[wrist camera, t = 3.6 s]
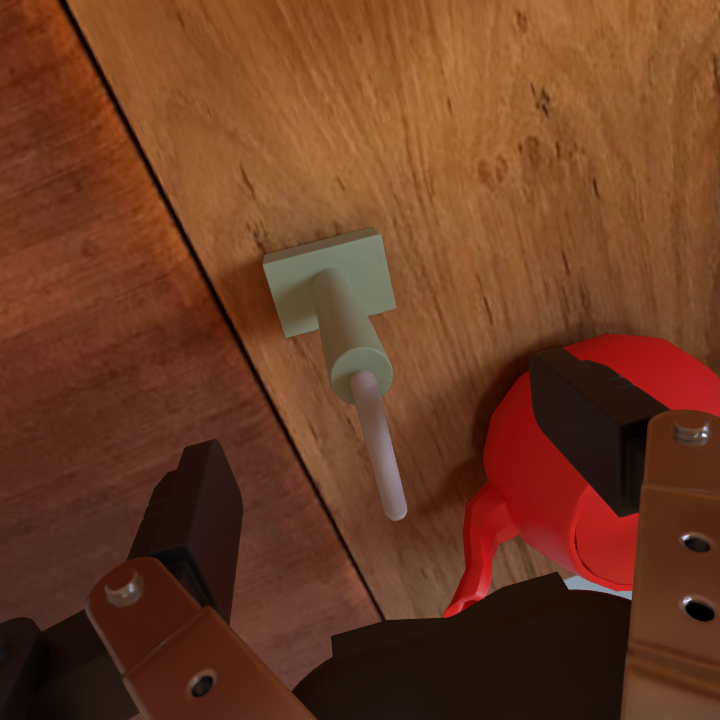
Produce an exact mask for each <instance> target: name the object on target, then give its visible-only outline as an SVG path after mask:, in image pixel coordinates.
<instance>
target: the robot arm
mask: <svg viewBox="0 0 720 720" xmlns="http://www.w3.org/2000/svg"><path fill="white" fill-rule="evenodd" d="M528 367H529V378H530V388H531V399H532V409H533V413H534V417H535V420H536V422H537V424H538V426H539V428H540V429H541V431H542V432H543V433H544V434H545V435H546V436H547V438H548V439H549V440H550V441H551V442H552V443H553V444H554V445H555V447H556V448H557V449H558V450H559V451H560V452H561V453H562V454H563V455H564V457H565V458H566V459H567V460H568V461H569V462H570V463H571V464H572V466H573V467H574V468H575V469H576V470H577V471H578V472H579V473H580V475H581V476H582V477H583V478H584V479H585V480H586V481H587V482H588V483H589V485H590V486H591V487H592V488H593V489H594V490H595V491H596V492H597V494H598V495H599V496H600V497H601V498H602V499H603V500H604V501H605V503H606V504H607V505H608V506H609V507H610V508H611V509H612V510H613V511H614V513H615V514H616V515H617V516H618V517H619V518H622V517H625V516H629V515H632V514H636V513H639V519H638V531H637V543H636V555H635V567H634V579H633V591H632V600H629V599H626V598H623V597H620V596H616V595H612V594H609V593H604V592H598V591H591V590H569V589H568V588H567V586H566V585H565V583H564V581H563V580H562V578H561V577H560V575H559V574H558V572H554V573H551V574H547V575H544V576H540V577H537V578H533V579H530V580H526V581H523V582H519V583H516V584H512V585H509V586H505V587H502V588H500V589H499V590H497V591H495V592H493V593H492V594H490V595H488V596H486V597H485V598H483V599H481V600H479V601H478V602H476V603H474V604H473V605H471V606H469V607H467V608H466V609H464V610H462V611H460V612H459V613H457V614H455V615H453V616H450V617H446V618H427V619H403V620H386V621H382V622H379V623H375V624H372V625H368V626H365V627H361V628H358V629H354V630H351V631H347V632H344V633H340V634H337V635H333V636H331V640H332V651H333V657H332V658H330V659H328V660H326V661H325V662H323V663H322V664H321V665H319V666H318V667H316V668H315V669H314V670H312V671H311V672H310V673H309V674H308V675H307V676H306V677H305V678H304V679H302V680H301V681H300V682H299V684H298V685H297V686H296V687H295V688H294V689H293V690H292V691H290V690H289V689H288V688H287V687H286V685H285V684H284V683H283V682H282V681H281V680H280V679H279V678H278V677H277V676H276V675H275V674H274V673H273V672H272V671H271V670H270V668H269V667H268V666H267V665H266V664H265V663H264V662H263V661H262V660H261V659H260V658H259V657H258V656H257V655H256V654H255V653H254V651H253V650H252V649H251V648H250V647H249V646H248V645H247V644H246V643H245V642H244V641H243V640H242V639H241V638H240V637H239V636H238V634H237V633H236V632H235V631H234V630H233V629H232V628H231V627H230V626H229V625H230V616H231V608H232V600H233V591H234V583H235V575H236V566H237V558H238V550H239V541H240V533H241V525H242V516H243V503H242V497H241V493H240V490H239V487H238V484H237V482H236V480H235V477H234V475H233V472H232V470H231V468H230V465H229V463H228V461H227V458H226V456H225V453H224V451H223V449H222V446H221V444H220V443H219V441H218V440H217V439H213V440H209V441H205V442H201V443H198V444H194V445H190V446H187V447H185V448H184V451H183V454H182V456H181V459H180V462H179V465H178V468H177V470H174V471H170V472H168V473H167V474H166V475H165V476H164V478H163V479H162V480H161V481H160V482H159V483H158V485H157V486H156V487H155V488H154V491H153V493H152V496H151V499H150V501H149V506H148V507H147V509H146V511H145V514H144V520H142V522H141V524H140V527H139V530H138V532H137V535H136V537H135V540H134V542H133V545H132V548H131V550H130V553H129V555H128V558H127V561H126V562H124V563H122V564H120V565H118V566H117V567H115V568H114V569H112V570H111V571H110V572H108V573H107V574H106V575H105V576H104V577H102V578H101V579H100V580H99V581H98V583H97V584H96V585H95V586H94V588H93V589H92V590H91V592H90V594H89V595H88V598H87V600H86V604H85V609H84V610H82V611H80V612H79V613H77V614H75V615H73V616H71V617H69V618H67V619H65V620H63V621H61V622H59V623H58V624H56V625H54V626H52V627H50V628H48V629H46V630H44V631H41V630H40V629H39V627H38V626H37V625H36V623H35V622H34V621H33V620H32V619H29V618H24V617H21V618H15V619H11V620H8V621H5V622H3V623H1V624H0V720H128V719H130V718H132V717H133V716H135V715H137V714H138V713H141V715H142V717H143V718H144V720H720V417H718V416H715V415H713V414H710V413H706V412H702V411H697V410H685V409H680V410H671V409H669V408H668V407H667V406H665V405H664V404H662V403H661V402H659V401H658V400H656V399H655V398H653V397H652V396H651V395H649V394H648V393H646V392H645V391H643V390H642V389H640V388H639V387H637V386H634V385H633V383H632V382H630V381H629V380H627V379H626V378H624V377H623V378H622V377H621V375H620V374H618V373H617V372H616V371H614V370H613V369H611V368H610V367H608V366H607V365H604V364H600V363H597V362H594V361H591V360H588V359H585V360H582V361H581V360H579V359H578V358H576V357H575V356H574V355H572V354H571V353H570V352H568V351H567V350H565V349H564V348H563V347H555V348H552V349H548V350H544V351H541V352H537V353H533V354H531V355H530V356H529V359H528Z"/></svg>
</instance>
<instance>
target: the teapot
mask: <svg viewBox="0 0 720 720" xmlns="http://www.w3.org/2000/svg"><path fill="white" fill-rule="evenodd" d="M563 348H564V349H565V350H567V351H568V352H570V353H571V354H572V355H574V356H575V357H576V358H578V359H579V360H581V361H582V360H585V359H588V360H591V361H594V362H597V363H600V364H604V365H607V366H608V367H610V368H611V369H613V370H614V371H616V372H617V373H618V374H620V375H621V377H622V378H623V377H624V378H626V379H627V380H629V381H630V382H632V383H633V385H634V386H637V387H639V388H640V389H642V390H643V391H645V392H646V393H648V394H649V395H651V396H652V397H653V398H655V399H656V400H658V401H659V402H661V403H662V404H664V405H665V406H667V407H668V408H669V409H671V410H680V409H685V410H697V411H702V412H706V413H710V414H713V415H715V416H718V417H720V379H719V378H718V377H717V375H716V374H715V373H714V372H713V371H712V370H711V369H709V368H708V367H707V366H705V365H704V364H703V363H701V362H700V361H699V360H697V359H696V358H694V357H692V356H691V355H689V354H688V353H686V352H684V351H683V350H681V349H680V348H678V347H676V346H675V345H673V344H672V343H670V342H668V341H667V340H665V339H661V338H654V337H646V336H633V335H621V334H608V333H606V334H603V335H600V336H597V337H593V338H590V339H587V340H584V341H581V342H577V343H574V344H571V345H568V346H565V347H563ZM483 465H484V468H485V472H486V476H487V479H488V481H487V482H486V483H485V484H484V485H483V486H482V487H481V488H480V489H479V490H478V491H477V492H476V494H475V495H474V496H473V497H472V498H471V499H470V500H469V501H468V502H467V503H466V509H465V519H464V529H463V542H464V554H465V567H466V569H465V572H464V574H463V576H462V579H461V581H460V583H459V586H458V588H457V590H456V592H455V595H454V597H453V599H452V602H451V604H450V605H449V606H448V608H447V609H446V610H445V612H444V615H443V618H446V617H450V616H453V615H455V614H457V613H459V612H460V611H462V610H464V609H466V608H467V607H469V606H471V605H473V604H474V603H476V602H478V601H479V600H481V599H483V598H485V597H486V596H487V593H488V590H489V587H490V584H491V581H492V560H493V558H494V555H495V553H496V550H497V547H498V545H499V544H501V543H503V542H505V541H507V540H509V539H511V538H513V537H515V536H517V535H520V537H521V538H522V539H523V540H524V542H526V543H527V544H529V545H530V546H531V547H533V548H534V549H536V550H537V551H539V552H540V553H542V554H543V555H545V556H546V557H548V558H549V559H551V560H553V561H554V562H556V563H557V564H559V565H560V566H562V567H564V568H565V569H567V570H569V571H571V572H573V573H575V574H576V575H578V576H580V577H582V578H584V579H586V580H588V581H590V582H593V583H596V584H598V585H601V586H604V587H606V588H609V589H612V590H614V591H633V579H634V567H635V555H636V543H637V531H638V519H639V513H636V514H632V515H629V516H625V517H622V518H619V517H618V516H617V515H616V514H615V513H614V511H613V510H612V509H611V508H610V507H609V506H608V505H607V504H606V503H605V501H604V500H603V499H602V498H601V497H600V496H599V495H598V494H597V492H596V491H595V490H594V489H593V488H592V487H591V486H590V485H589V483H588V482H587V481H586V480H585V479H584V478H583V477H582V476H581V475H580V473H579V472H578V471H577V470H576V469H575V468H574V467H573V466H572V464H571V463H570V462H569V461H568V460H567V459H566V458H565V457H564V455H563V454H562V453H561V452H560V451H559V450H558V449H557V448H556V447H555V445H554V444H553V443H552V442H551V441H550V440H549V439H548V438H547V436H546V435H545V434H544V433H543V432H542V431H541V429H540V428H539V426H538V424H537V422H536V420H535V417H534V413H533V409H532V399H531V388H530V378H529V370H528V371H527V372H526V373H524V374H523V375H521V376H520V377H519V378H518V379H517V380H516V381H515V383H514V384H513V386H512V387H511V389H510V390H509V391H508V393H507V394H506V396H505V397H504V398H503V400H502V401H501V403H500V404H499V405H498V407H497V408H496V410H495V411H494V412H493V414H492V415H491V420H490V424H489V428H488V433H487V437H486V442H485V446H484V451H483Z"/></svg>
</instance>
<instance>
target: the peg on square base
mask: <svg viewBox="0 0 720 720" xmlns="http://www.w3.org/2000/svg"><path fill="white" fill-rule="evenodd" d="M262 266H263V270H264V273H265V276H266V279H267V282H268V285H269V288H270V292H271V295H272V298H273V301H274V304H275V307H276V311H277V314H278V317H279V320H280V323H281V326H282V329H283V333H284V336H285V338H289V337H292V336H296V335H300V334H304V333H307V332H311V331H315V330H319V329H320V334H321V340H322V345H323V350H324V355H325V360H326V366H327V371H328V376H329V381H330V386H331V388H332V390H333V392H334V393H335V395H336V396H337V397H338V398H340V399H341V400H343V401H344V402H347V403H349V404H353V405H356V408H357V412H358V415H359V419H360V423H361V426H362V430H363V434H364V438H365V441H366V445H367V449H368V453H369V456H370V460H371V464H372V468H373V472H374V476H375V479H376V483H377V487H378V490H379V494H380V498H381V501H382V505H383V509H384V512H385V514H386V516H387V517H388V518H389V519H391V520H394V521H398V520H401V519H402V518H404V516H405V515H406V513H407V505H406V500H405V496H404V492H403V488H402V484H401V480H400V475H399V471H398V467H397V463H396V459H395V455H394V451H393V446H392V442H391V438H390V434H389V430H388V426H387V422H386V417H385V413H384V409H383V405H382V401H381V397H382V396H383V395H384V394H385V393H386V392H387V391H388V389H389V387H390V385H391V383H392V379H393V369H392V365H391V363H390V361H389V359H388V356H387V354H386V352H385V350H384V348H383V346H382V344H381V342H380V340H379V338H378V336H377V334H376V332H375V330H374V328H373V326H372V324H371V322H370V320H369V318H368V316H371V315H375V314H379V313H383V312H386V311H390V310H394V309H396V304H395V300H394V295H393V290H392V285H391V280H390V275H389V271H388V266H387V261H386V256H385V251H384V246H383V242H382V237H381V234H380V233H379V232H378V231H377V230H376V229H375V228H374V227H369V228H366V229H362V230H358V231H354V232H350V233H346V234H342V235H339V236H335V237H331V238H327V239H323V240H319V241H316V242H312V243H308V244H304V245H300V246H296V247H292V248H289V249H285V250H281V251H277V252H273V253H269V254H265V255H264V259H263V264H262Z"/></svg>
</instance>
